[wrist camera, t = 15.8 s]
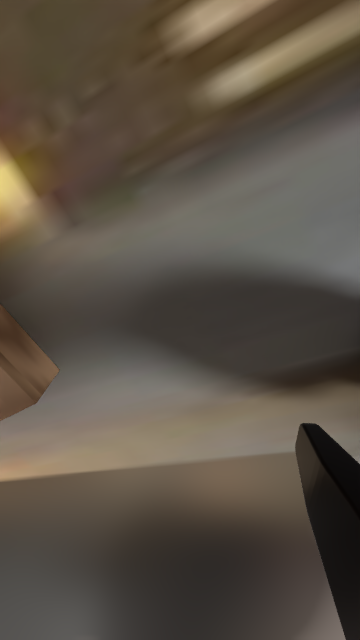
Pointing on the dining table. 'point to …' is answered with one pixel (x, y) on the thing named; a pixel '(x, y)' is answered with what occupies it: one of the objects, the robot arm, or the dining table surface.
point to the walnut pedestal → (21, 368)
